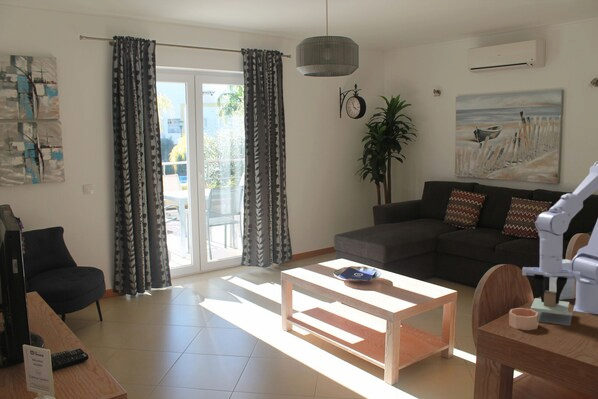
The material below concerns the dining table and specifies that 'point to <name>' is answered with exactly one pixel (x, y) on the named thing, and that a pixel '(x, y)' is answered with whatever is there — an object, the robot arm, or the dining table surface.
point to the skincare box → (569, 286)
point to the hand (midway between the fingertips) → (550, 302)
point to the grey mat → (555, 318)
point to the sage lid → (550, 304)
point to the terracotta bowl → (523, 319)
